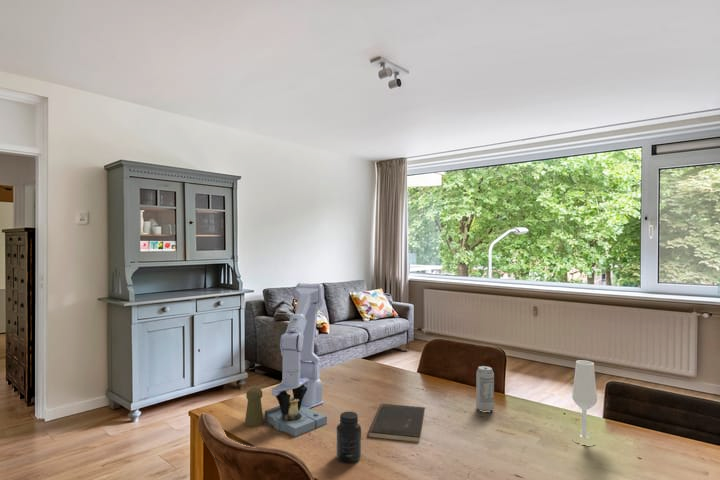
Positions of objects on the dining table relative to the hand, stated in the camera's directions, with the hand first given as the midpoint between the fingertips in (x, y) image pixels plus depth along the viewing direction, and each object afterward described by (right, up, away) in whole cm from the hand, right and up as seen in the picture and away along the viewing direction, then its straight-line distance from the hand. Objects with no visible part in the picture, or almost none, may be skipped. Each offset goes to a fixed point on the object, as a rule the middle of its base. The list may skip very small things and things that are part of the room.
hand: (290, 411), depth 141 cm
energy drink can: (+67, -5, +14) cm, 69 cm away
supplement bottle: (+19, -5, -21) cm, 29 cm away
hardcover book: (+35, -5, +1) cm, 35 cm away
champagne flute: (+90, -5, -10) cm, 91 cm away
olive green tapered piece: (-12, -4, +1) cm, 13 cm away
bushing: (0, -2, -1) cm, 2 cm away
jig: (+1, -4, +1) cm, 5 cm away
